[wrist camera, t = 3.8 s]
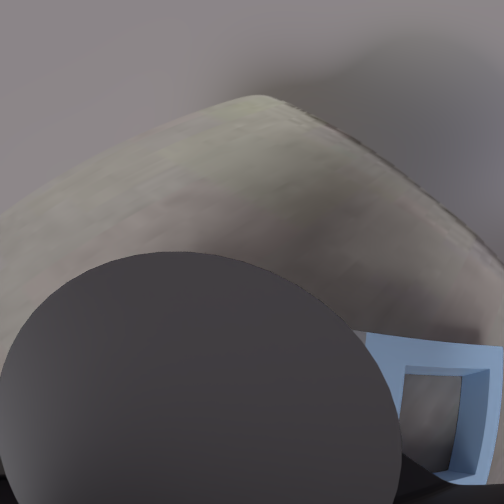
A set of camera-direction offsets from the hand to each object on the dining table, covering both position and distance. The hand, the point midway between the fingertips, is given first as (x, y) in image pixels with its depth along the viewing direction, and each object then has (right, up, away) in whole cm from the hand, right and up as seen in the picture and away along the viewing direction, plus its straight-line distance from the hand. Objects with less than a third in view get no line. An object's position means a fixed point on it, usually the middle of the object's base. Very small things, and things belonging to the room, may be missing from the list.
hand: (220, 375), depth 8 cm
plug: (0, -5, +6) cm, 8 cm away
